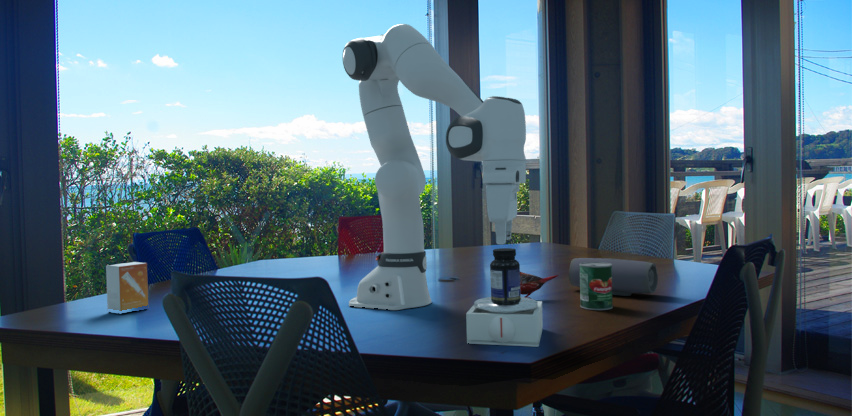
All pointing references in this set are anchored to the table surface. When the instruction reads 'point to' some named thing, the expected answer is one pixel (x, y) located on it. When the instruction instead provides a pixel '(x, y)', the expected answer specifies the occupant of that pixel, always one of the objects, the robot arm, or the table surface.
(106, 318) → the table surface
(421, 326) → the table surface
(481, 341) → the scale housing
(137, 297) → the small box
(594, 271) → the canned tomato
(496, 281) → the pill bottle
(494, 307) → the scale pan
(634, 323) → the table surface
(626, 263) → the bluetooth speaker
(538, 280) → the decorative bird figurine
